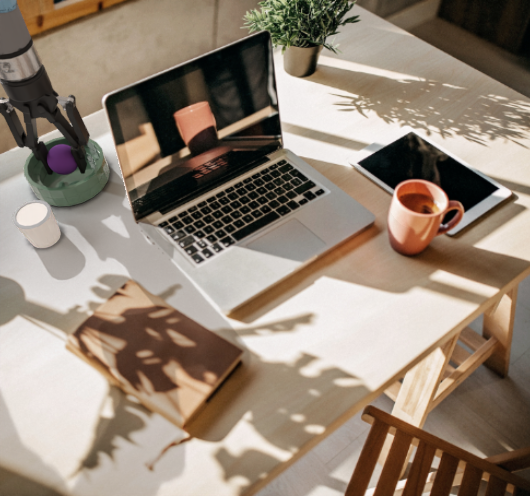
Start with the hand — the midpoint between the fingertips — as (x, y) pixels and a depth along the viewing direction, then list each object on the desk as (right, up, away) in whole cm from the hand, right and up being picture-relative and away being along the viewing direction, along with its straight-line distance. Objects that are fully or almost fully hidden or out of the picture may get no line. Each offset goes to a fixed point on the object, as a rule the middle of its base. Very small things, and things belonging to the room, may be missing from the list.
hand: (67, 169), depth 101 cm
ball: (0, +2, -2) cm, 3 cm away
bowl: (0, -2, +2) cm, 3 cm away
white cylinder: (-2, -14, -6) cm, 15 cm away
